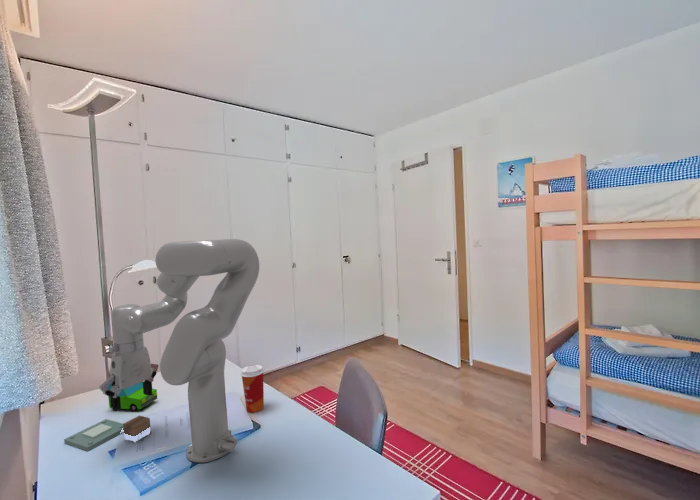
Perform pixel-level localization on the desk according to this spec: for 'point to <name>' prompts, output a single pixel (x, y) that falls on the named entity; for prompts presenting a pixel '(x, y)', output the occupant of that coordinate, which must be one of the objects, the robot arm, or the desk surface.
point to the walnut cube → (136, 425)
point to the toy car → (134, 397)
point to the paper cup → (253, 388)
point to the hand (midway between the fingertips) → (132, 401)
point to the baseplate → (95, 435)
